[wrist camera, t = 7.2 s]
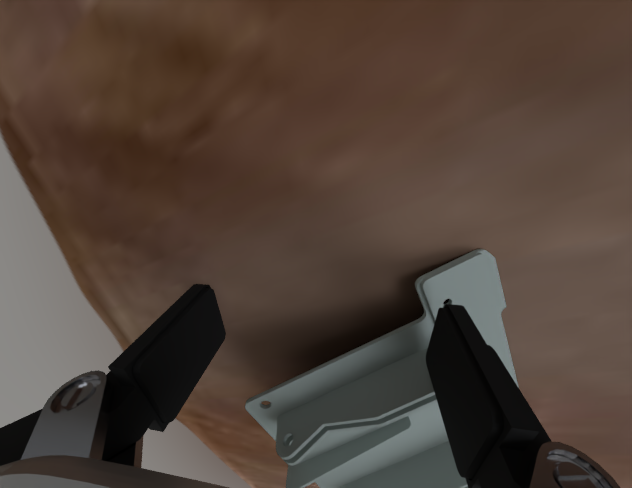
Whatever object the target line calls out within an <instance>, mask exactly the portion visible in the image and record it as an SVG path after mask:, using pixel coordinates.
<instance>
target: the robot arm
mask: <svg viewBox="0 0 632 488" xmlns="http://www.w3.org/2000/svg"><path fill="white" fill-rule="evenodd" d="M225 335H226V332H225V328H224V325H223V321H222V318H221V314H220V311H219V307H218V304H217V300H216V297H215V293H214V290H213V289H211V287H210V286H209V285H202V284H194V285H193V286H192V287H191V288H190V289H189V290H187V291H186V292H185V293H184V294H183V295H182V296H181V297H180V298H179V299H178V300H177V301H176V302H175V303H174V304H173V305H172V306H171V307H170V308H169V309H168V310H167V311H166V312H165V313H164V314H163V315H161V316H160V317H159V318H158V319H157V320H156V321H155V322H154V323H153V324H152V325H151V326H150V327H149V328H148V329H147V330H146V331H145V332H144V333H143V334H142V335H141V336H140V337H139V338H138V339H136V340H135V341H134V342H133V343H132V344H131V345H130V346H129V347H128V348H127V349H126V350H125V351H124V352H123V353H122V354H121V355H120V356H119V357H118V358H117V359H116V360H115V361H114V362H113V363H112V364H110V365H109V366H108V367H109V369H110V370H111V371H110V372H109V373H108V374H107V375H106V374H105V373H104V372H101V371H91V372H87V373H84V374H81V375H79V376H77V377H75V378H73V379H72V380H70V381H68V382H67V383H65V384H64V385H62V386H61V387H60V388H59V389H58V390H57V391H55V393H53V394H52V396H51V397H50V398H49V399H48V400H47V402H46V404H45V405H44V407H43V409H41V410H39V411H37V412H35V413H32V414H30V415H28V416H26V417H24V418H21V419H19V420H17V421H15V422H13V423H11V424H8V425H6V426H4V427H2V428H0V488H229V487H224V486H220V485H215V484H211V483H206V482H202V481H197V480H192V479H188V478H183V477H179V476H174V475H170V474H165V473H161V472H156V471H151V470H147V469H142V468H141V462H142V447H143V435H144V433H145V432H146V430H147V429H148V428H149V429H151V430H157V431H162V432H163V431H164V430H165V428H166V427H167V425H168V423H169V422H172V421H173V420H174V419H175V418H176V416H177V415H178V413H179V411H180V410H181V408H182V407H183V405H184V403H185V402H186V400H187V399H188V397H189V395H190V394H191V392H192V391H193V389H194V387H195V386H196V384H197V383H198V381H199V379H200V378H201V376H202V375H203V373H204V371H205V370H206V368H207V367H208V365H209V363H210V362H211V360H212V359H213V357H214V355H215V354H216V352H217V351H218V349H219V347H220V346H221V344H222V343H223V341H224V339H225ZM426 365H427V368H428V372H429V375H430V379H431V382H432V385H433V389H434V392H435V396H436V399H437V402H438V406H439V409H440V413H441V416H442V419H443V423H444V426H445V430H446V433H447V436H448V440H449V443H450V447H451V450H452V454H453V457H454V460H455V464H456V467H457V470H458V472H459V475H460V476H461V477H463V478H465V479H466V482H467V485H468V488H620V486H619V485H618V484H617V483H616V481H615V480H614V479H613V478H612V477H611V476H610V475H609V474H608V473H607V472H606V471H605V470H604V469H603V468H602V467H601V466H600V465H599V464H598V463H596V462H595V461H594V460H592V459H591V458H590V457H588V456H587V455H586V454H584V453H582V452H581V451H579V450H577V449H575V448H573V447H572V446H569V445H566V444H563V443H560V442H552V441H551V440H550V438H549V436H548V435H547V433H546V432H545V430H544V428H543V427H542V425H541V424H540V422H539V420H538V419H537V417H536V415H535V414H534V412H533V411H532V409H531V407H530V406H529V404H528V403H527V401H526V399H525V398H524V396H523V395H522V393H521V391H520V390H519V388H518V386H517V385H516V383H515V382H514V380H513V378H512V377H511V375H510V374H509V372H508V370H507V369H506V367H505V366H504V364H503V362H502V361H501V359H500V357H499V356H498V354H497V353H496V351H495V350H494V349H493V347H491V346H490V345H487V344H486V342H485V340H484V339H483V337H482V335H481V334H480V332H479V330H478V329H477V327H476V325H475V324H474V322H473V320H472V319H471V317H470V315H469V314H468V312H467V310H466V309H465V307H464V306H462V305H452V304H445V305H444V307H443V308H439V309H438V313H437V316H436V320H435V324H434V327H433V331H432V334H431V338H430V342H429V345H428V349H427V352H426Z"/></svg>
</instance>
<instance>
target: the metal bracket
mask: <svg viewBox="0 0 632 488" xmlns="http://www.w3.org/2000/svg"><path fill="white" fill-rule="evenodd" d="M415 288H416V291H417V293H418V296H419V298H420V301H421V303H422V306H423V308H424V314H423V315H422V317H420V318H419V319H417V320H415V321H413V322H411V323H409V324H406V325H404V326H402V327H400V328H398V329H396V330H394V331H392V332H389V333H387V334H385V335H383V336H381V337H379V338H377V339H375V340H373V341H370V342H368V343H366V344H364V345H362V346H360V347H358V348H356V349H353V350H351V351H349V352H347V353H345V354H343V355H341V356H339V357H336V358H334V359H332V360H330V361H328V362H326V363H324V364H322V365H319V366H317V367H315V368H313V369H311V370H309V371H307V372H305V373H303V374H300V375H298V376H296V377H294V378H292V379H290V380H288V381H286V382H283V383H281V384H279V385H277V386H275V387H273V388H271V389H269V390H266V391H264V392H262V393H260V394H258V395H256V396H254V397H252V398H249V399H248V400H247V401H246V405H245V408H246V410H247V411H248V412H249V413H250V414H251V415H252V417H253V418H254V419H255V420H256V421H257V422H258V423H259V424H260V425H261V426H262V427H263V428H264V429H265V430H266V431H267V432H268V433H269V434H270V435H271V436H272V438H273V439H274V440H275V441H276V451H277V454H278V455H279V456H280V457H281V458H282V459H283V460H284V461H285V462H286V463H287V464H288V472H287V480H286V488H304V487H306V486H308V485H310V484H312V483H313V482H315V483H316V484H317V485H318V486H319V487H320V488H468V485H467V482H466V479H465V478H463V477H461V476H460V475H459V472H458V470H457V467H456V464H455V460H454V457H453V454H452V450H451V447H450V443H449V440H448V436H447V433H446V430H445V426H444V423H443V419H442V416H441V413H440V409H439V406H438V402H437V399H436V396H435V392H434V389H433V385H432V382H431V379H430V375H429V372H428V368H427V365H426V352H427V349H428V345H429V342H430V338H431V334H432V331H433V327H434V324H435V320H436V316H437V313H438V309H439V308H443V307H444V305H445V304H443V302H444V301H445V300H446V299H449V302H448V303H446V304H452V305H462V306H464V307H465V309H466V310H467V312H468V314H469V315H470V317H471V319H472V320H473V322H474V324H475V325H476V327H477V329H478V330H479V332H480V334H481V335H482V337H483V339H484V340H485V342H486V344H487V345H490V346H491V347H493V349H494V350H495V351H496V353H497V354H498V356H499V357H500V359H501V361H502V362H503V364H504V366H505V367H506V369H507V370H508V372H509V374H510V375H511V377H512V378H513V380H514V382H515V383H516V385H517V386H518V383H517V379H516V375H515V371H514V366H513V362H512V358H511V354H510V350H509V346H508V342H507V338H506V334H505V330H504V326H503V322H502V318H501V312H502V310H503V309H504V308H505V307H506V303H505V298H504V294H503V290H502V285H501V281H500V277H499V273H498V268H497V264H496V260H495V257H494V256H492V255H491V254H490V253H489V252H488V251H486V250H484V249H478V250H474V251H472V252H470V253H468V254H466V255H463V256H461V257H459V258H457V259H455V260H453V261H451V262H449V263H447V264H445V265H443V266H441V267H439V268H437V269H435V270H433V271H430V272H428V273H426V274H424V275H422V276H420V277H419V278H418V279H417V280H416V282H415ZM518 388H519V387H518ZM262 401H269V402H271V403H270V404H269V405H263V404H261V402H262Z"/></svg>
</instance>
